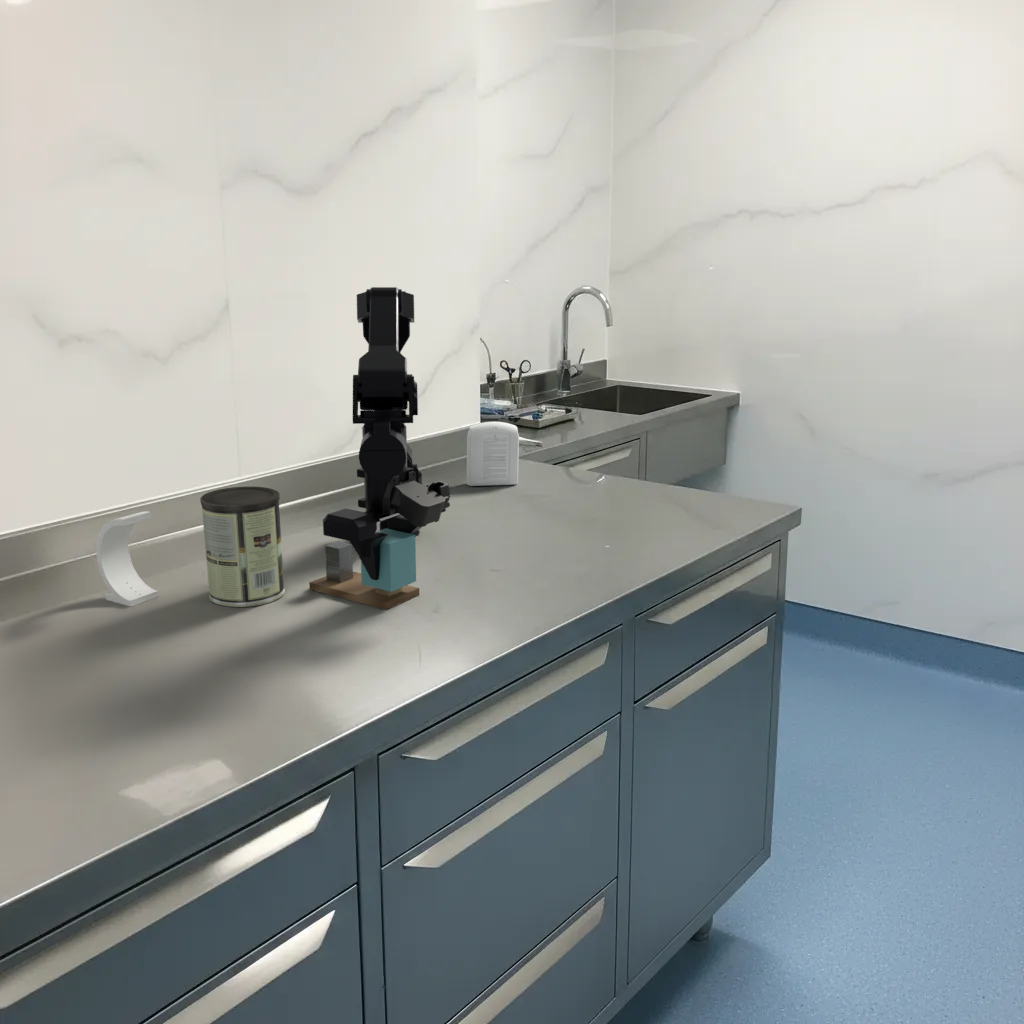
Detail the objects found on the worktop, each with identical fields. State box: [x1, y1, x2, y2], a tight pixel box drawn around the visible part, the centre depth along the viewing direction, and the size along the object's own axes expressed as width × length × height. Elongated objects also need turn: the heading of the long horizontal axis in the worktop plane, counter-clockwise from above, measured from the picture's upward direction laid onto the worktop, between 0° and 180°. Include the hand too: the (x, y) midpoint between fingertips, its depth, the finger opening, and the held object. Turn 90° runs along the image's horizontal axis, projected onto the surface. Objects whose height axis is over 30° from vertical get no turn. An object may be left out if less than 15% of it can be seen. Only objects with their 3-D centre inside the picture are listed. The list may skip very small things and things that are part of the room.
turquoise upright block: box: [360, 529, 417, 592], centre depth 141 cm, size 5×5×7 cm
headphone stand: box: [95, 510, 159, 608], centre depth 141 cm, size 5×6×12 cm
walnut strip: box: [308, 571, 420, 611], centre depth 145 cm, size 14×7×1 cm, turn 56°
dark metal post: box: [324, 540, 354, 583], centre depth 146 cm, size 3×3×5 cm
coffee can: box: [199, 486, 286, 608], centre depth 142 cm, size 10×10×14 cm
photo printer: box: [466, 421, 520, 487], centre depth 203 cm, size 10×4×12 cm, turn 102°
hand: (388, 574), depth 141 cm, fingers closed on turquoise upright block, 5 cm apart
